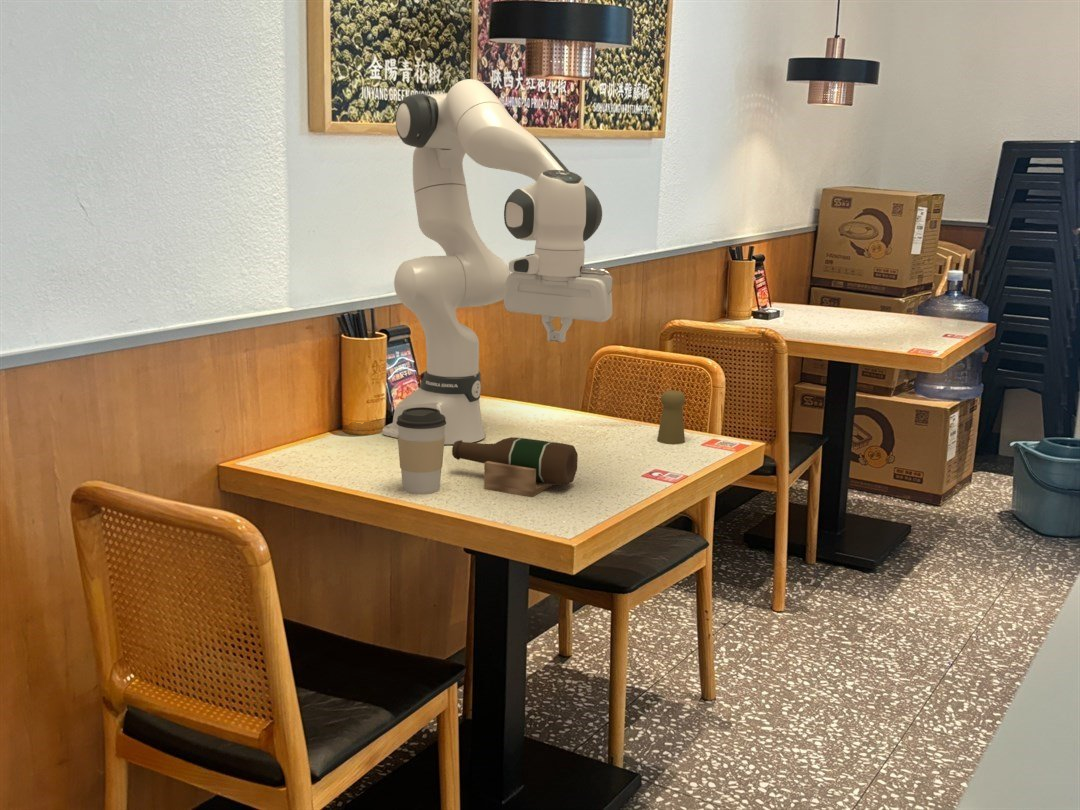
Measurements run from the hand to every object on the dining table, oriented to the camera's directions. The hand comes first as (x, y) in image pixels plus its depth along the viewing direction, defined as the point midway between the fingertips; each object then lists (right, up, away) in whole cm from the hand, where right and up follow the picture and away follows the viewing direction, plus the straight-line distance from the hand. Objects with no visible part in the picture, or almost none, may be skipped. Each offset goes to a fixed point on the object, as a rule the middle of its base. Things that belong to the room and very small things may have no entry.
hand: (556, 341), depth 207 cm
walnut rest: (-6, -26, +9) cm, 28 cm away
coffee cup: (-25, -27, +5) cm, 37 cm away
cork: (+26, -19, +43) cm, 53 cm away
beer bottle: (+3, -23, +5) cm, 24 cm away
